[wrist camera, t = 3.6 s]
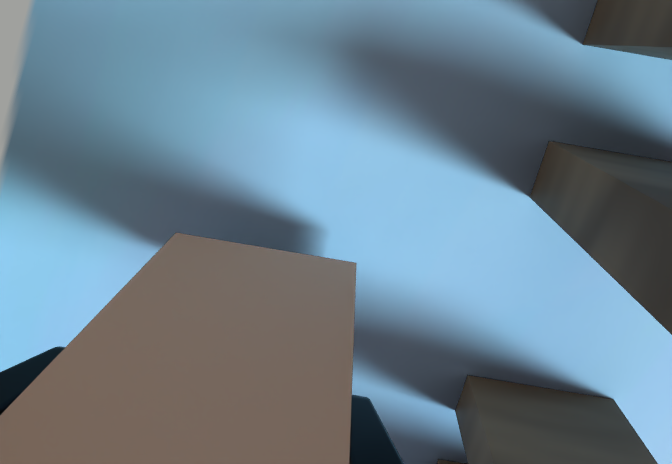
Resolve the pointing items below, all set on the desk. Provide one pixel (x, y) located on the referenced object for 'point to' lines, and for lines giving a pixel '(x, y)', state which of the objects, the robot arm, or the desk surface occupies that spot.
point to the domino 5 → (632, 27)
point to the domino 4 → (615, 216)
